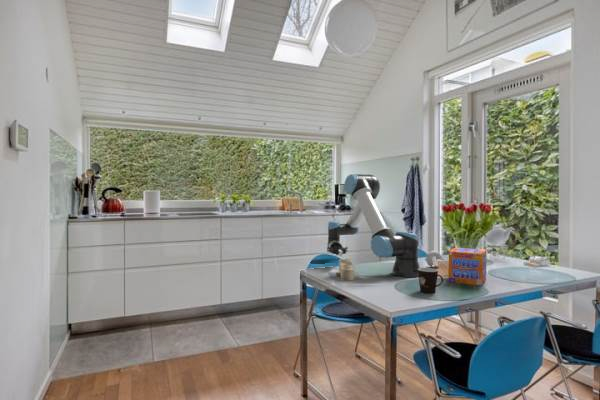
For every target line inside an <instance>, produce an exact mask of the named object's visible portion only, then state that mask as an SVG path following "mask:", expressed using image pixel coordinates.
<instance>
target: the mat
mask: <svg viewBox="0 0 600 400" xmlns="http://www.w3.org/2000/svg"><path fill="white" fill-rule="evenodd" d="M327 273H328V276H329V278H330V280H342V279H341V276H340V272H339V271H338V272H334V271H333V272H330V271H328V272H327ZM354 280H363V278H362V276H361V275H360V274H359V273H358V272H357V271H354Z"/></svg>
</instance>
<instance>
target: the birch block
mask: <svg viewBox="0 0 600 400" xmlns="http://www.w3.org/2000/svg"><path fill="white" fill-rule="evenodd" d="M354 268H355V267H354V265H353V263H352V260H351V259H350V258H349V259H345V258H343V259H338V272H340V276H341V279H340V280H341V281H354V280H355V279H354V272H355V269H354Z"/></svg>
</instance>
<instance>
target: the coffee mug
mask: <svg viewBox="0 0 600 400" xmlns="http://www.w3.org/2000/svg"><path fill="white" fill-rule="evenodd" d="M418 275H419V276H418V282H419V283H418V284H419V289H420V290H419V291H420V293H422V294H427V295H428V294H429V295H432V294H433V295H434V294H435V293H436V289H437V288H438V287H439V286H441V285H442V284H443V283H444V277H443V276H442V275H440V274H439V270H438V269H437V268H434V267H431V268H430V267H420V268H419V269H418ZM438 277H440V279H441V282H440V283H439V284H438V283H437V282H438Z"/></svg>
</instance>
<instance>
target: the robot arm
mask: <svg viewBox="0 0 600 400" xmlns="http://www.w3.org/2000/svg"><path fill="white" fill-rule="evenodd" d="M343 185H344V186H343V188H344V192H345V193H346V194H347V195H351V197H352V199H353V200H354V201H356V202H357V203H356V205H355V207H354V208H353V210H352V212H351V214H350V216H349V218H348V219H347V222H346V223H340V221H338V220H335V221H333V220H331V221H329V222H328V223H327V224H328V225H327V226H328V227H327V231H328V232H327V234H328V236H327V237H328V238H327V244H326V245H327V247H326V252H328V253H331V254H333V255H336V256H339V257H343V255H345V254H346V253H347V252H348V250H349V249H348V247H347V246H346V247H343V245H342V244H341V243H340V239H341V238H340V236H353V235H357V234H359V232H360V223H361V222H362V221H363V218H364V219H365V220H366V222H367V225H368V228H369V229H370V232H371V233H372V235H371V239H370V244H371V245H370V249H371V251H372V253H373V254H374V255H375V256H376V257H378V258H383V259H389V258H393V257H395V260H394V263H393V266H392V270H391V272H392V273H391V274H392V275H393V276H397V277H403V278H417V277H418V278H419V275H418V269H419V268H421V266H420V264H419V261H418V260H419V259H418V258H419V257H418V256H419V237H418V236H419V235H417V233H414V232H407V231H405V232H404V231H396V232H395V234H394V231H393V230H392V228H390V227H388V226H387V224H386V221H385V220H384V218H383V216H382V215H381V212H380V210H379V208H378V206H377V204H376V202H375V199H377V197H378V196H379V193H380V190H381V184H380V180H379V179H378V178H377V177H376V176H375V175H373V174H362V173H358V174H357V173H352V174H349V175H347V177H346V178H345V181H344V184H343Z"/></svg>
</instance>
